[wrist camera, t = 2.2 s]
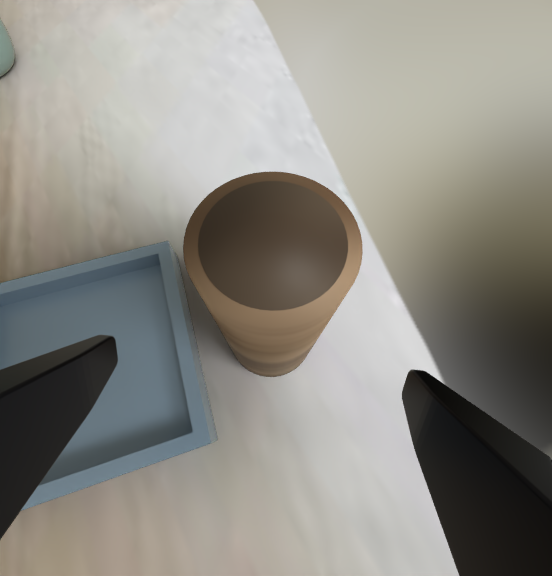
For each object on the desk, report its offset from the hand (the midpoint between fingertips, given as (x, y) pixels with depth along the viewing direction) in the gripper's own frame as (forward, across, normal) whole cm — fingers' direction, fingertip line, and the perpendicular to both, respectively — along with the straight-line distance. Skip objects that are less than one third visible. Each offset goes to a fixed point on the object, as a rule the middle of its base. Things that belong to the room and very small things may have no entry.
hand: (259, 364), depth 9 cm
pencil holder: (+10, 0, +5) cm, 11 cm away
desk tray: (+8, +11, +7) cm, 15 cm away
